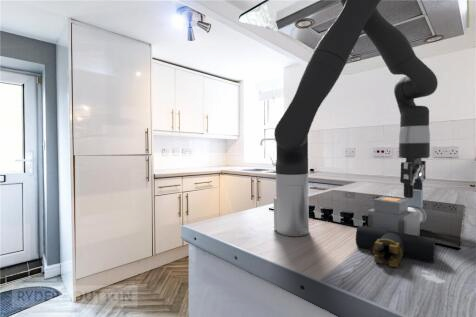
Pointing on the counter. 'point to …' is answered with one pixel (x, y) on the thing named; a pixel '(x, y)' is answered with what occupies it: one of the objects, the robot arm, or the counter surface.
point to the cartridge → (417, 204)
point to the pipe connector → (395, 245)
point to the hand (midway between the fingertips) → (413, 195)
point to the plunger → (390, 199)
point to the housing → (394, 217)
